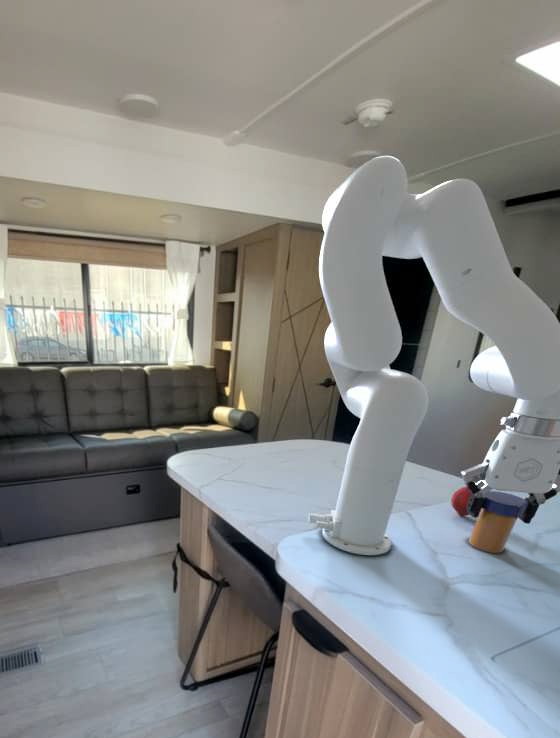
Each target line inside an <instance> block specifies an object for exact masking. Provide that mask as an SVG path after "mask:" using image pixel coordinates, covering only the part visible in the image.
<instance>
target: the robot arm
mask: <svg viewBox="0 0 560 738" xmlns="http://www.w3.org/2000/svg"><path fill="white" fill-rule="evenodd" d="M408 180H409V179H408V174H407V171H406V168H405V166H404V165H403V163H402V162H401V161H400V160H399V159H398V158H396V157H394V156H391V155H381V156H378V157H374V158H372V159H370V160H368V161H366V162H364V163H363V164H362V165H360V166H359V167H358V168H357V169H356V170H355V171H353V172H352V173H351V174H350V175H349V176H348V177H347V178H346V179H345V180H344V181H343V182H342V183H341V184H340V185H339V186H337V188H336V189H335V190H334V191H333V192H332V193H331V195H330V196H329V197H328V199H327V201H326V203H325V205H324V208H323V211H322V216H321V218H322V219H321V225H322V230H323V231H324V233H323V239H322V242H321V247H320V254H319V262H318V264H319V265H318V273H319V274H318V275H319V282H320V287H321V292H322V295H323V299H324V302H325V305H326V308H327V312H328V315H329V318H330V321H331V322H330V324H329V325H328V326H327V328H326V331H325V334H324V341H323V342H324V343H323V345H324V352H325V353H324V354H325V357H326V360H327V362H328V365H329V367H330V370H331V373H332V375H333V378H334V381H335V383H336V386H337V389H338V391H339V394H340V396H341V399H342V401H343V403H344V405H345V406H346V408H347V410H348V411H349V412H350V413H352V414H353V415H354V416H355V417H357V418H359V419H360V420H359V424H358V425H357V428H356V430H355V432H354V434H353V436H352V439H351V442H350V445H349V448H348V452H347V456H346V460H345V465H344V471H343V475H342V480H341V483H340V488H339V493H338V498H337V502H336V506H335V509H331V510H330V513H326V514H325V515H322V514H317V513H309V514H308V518H307V519H308V520H307V522H308V524H314V525H315V529H321V530H322V533H321V534H322V536H323V538H324V539H325V541H327V542H328V543H329V544H330V545H331V546H333V547H335V548H337V549H339V550H342V551H345V552H348V553H351V554H356V555H362V556H378V555H382V554H383V555H384V554H385V553H387V552H389V551H390V549H391V547H392V542H393V541H392V538H391V537H390V536H389V534H387V532H386V531H387V527H388V524H389V520H390V517H391V513H392V510H393V506H394V503H395V500H396V496H397V493H398V490H399V486H400V483H401V480H402V475H403V473H404V469H405V465H406V462H407V460H408V459H407V458H408V455H409V452H410V450H411V447H412V444H413V441H414V439H415V437H416V435H417V433H418V431H419V430H420V427H421V426H422V423H423V421H424V419H425V417H426V414H427V411H428V408H429V395H428V391H427V388H426V386H425V385H424V383H423V382H422V381H421V380H420V379H418V378H417V377H416V376H414V375H412V374H410V373H407V372H404V371H401V370H396V369H391V366H390V365H391V364H392V363H394V361H395V360H396V359H397V357H398V355H399V354H400V351H401V349H402V344H403V336H402V335H403V334H402V328H401V326H400V322H399V319H398V316H397V312H396V310H395V306H394V304H393V303H394V302H393V300H392V297H391V294H390V291H389V287H388V284H387V279H386V275H385V271H384V265H383V256H384V257H390V258H397V259H404V260H405V259H406V260H414V259H420V258H422V259H423V262H424V263H425V266H426V268H427V270H428V272H429V274H430V276H431V279H432V281H433V283H434V285H435V287H436V289H437V292H438V294H439V297H440V299H441V301H442V304H443V306H444V308H445V309H446V311H448V312H449V313H450V314H451V315H452V316H453V317H455V318H456V319H458V320H459V321H461V322H463V323H464V324H466V325H468V326H470V327H472V328H473V329H475V330H477V331H478V332H480V333H481V334H482V335H484V336H485V337H486V338H487V339H489V341H490V342H491V343H492V344H493V345H494V346H492V347H489V348H487V349H485V350H483V351H482V352H480V353H479V354H478V355H477V356H476V357H475V358H474V360H473V361H472V363H471V365H470V369H469V376H470V379H471V381H472V382H473V384H474V385H475V386H476V387H478V388H480V389H482V390H484V391H487V392H490V393H495V394H499V395H503V396H507V397H511V398H515V399H516V403H515V405H514V407H513V410H512V411H511V412H510V415H509V416H502V418H501V419H500V425H501V426H503V425H504V426H505V429H501V431H500V432H499V433H498V434H497V436H496V437H495V440H494V441H493V442H492V444H491V445H490V447H489V449H488V451H487V453H486V455H485V457H484V459H483V461H482V463H480V464H476V465H474V466H472V467H469V468H467V469H465V470H462V471H461V473H460V474H461V477H462V481H463V482H464V485H465V487H466V486H467V488H468V489H469V490H470V492H471V496H470V499H469V501H468V504H467V507H466V509H467V512H468V513H469V514H470V515H469V516H471V518H474V519H475V518H477V519H478V516H479V514H480V511H481V509H482V506H483V503H484V498H483V496H484V495H485V494H486V493H488V492H489V491H492V490H495V491H496V490H497V491H505V492H514V493H524V494H525V493H526V494H528V497H524V498H523V499H524V500H526V501H527V502H528V506H527V509H526V511H525V513H524V515H523V516H521V517H518V518H517V519H519V520H521V521H522V523H524V524H529V525H530V524H531V522H532V520H533V518H534V517H535V516H536V513H537V511H538V509H539V507H540V505H544V504H545V503H546V501H548V500H550V499H551V498H554V497H555V496H557V495H558V493H560V474H559V472H560V321H559V320H558V318H557V316H556V314H554V312H553V311H552V309H551V308H550V307H549V306H548V305H547V304H546V303H545V302H544V301H543V299H541V298H540V297H539V296H538V295H537V294H536V293H535V292H534V291H533V290H532V289H531V288H530V287H529V286H528V285H527V284H526V283H525V282H524V281H523V280H521V279H520V278H519V277H518V276H517V275H516V274H515V273H514V271H513V269H512V266H511V265H510V262H509V259H508V257H507V254H506V251H505V248H504V246H503V243H502V241H501V238H500V235H499V233H498V230H497V227H496V224H495V222H494V219H493V217H492V215H491V212H490V208H489V206H488V204H487V201H486V199H485V196H484V194H483V191H482V189H481V188H480V187H479V185H478V184H477V183H476V182H475V181H473V180H471V179H468V178H456V179H452V180H448V181H445V182H443V183H441V184H438V185H437V186H435V187H433V188H431V189H429V190H427V191H426V192H424V193H420V194H419V193H418V194H415V193H408V183H409V182H408ZM476 476H477V477H478V479H479V480H478V481H477V482H476V483H475V480H474V477H476Z"/></svg>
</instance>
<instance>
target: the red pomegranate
mask: <svg viewBox="0 0 560 738" xmlns="http://www.w3.org/2000/svg"><path fill="white" fill-rule="evenodd" d="M470 496H471V492H470V490H469V489H468V488H467V486H466V485H465V486H463V487H461V488H459V489H457V490H456V491H455V492H454V493H453V494H452V496H451V499H450V504H451V507H452V509H453V510H455V512H456V513H457V515H458V516H460V517H466V516H471V515H470V514H469V513H468V512H467V509H466V507H467V504H468V501H469V499H470Z"/></svg>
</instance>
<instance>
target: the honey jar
mask: <svg viewBox="0 0 560 738" xmlns="http://www.w3.org/2000/svg"><path fill="white" fill-rule="evenodd" d="M518 519H519V518H518V517H508V516H502V515H498V514H494V513H492V512H489V511H487V510H485V509H483V508H481V511H480V513H479V516H478V517H477V519H476V522H475V524H474V527H473V529H472V531H471V534H470V537H469V538H468V543H469V544H470V545H471V546H472V547H474V548H475V549H478V550H480V551H483V552H486V553H491V554H500V553H502V552H503V551H504V550H505V548H506V545H507V543H508V540H509V538H510V536H511V534H512V532H513V529H514V527H515V525H516V522H517V520H518Z"/></svg>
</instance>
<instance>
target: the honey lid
mask: <svg viewBox="0 0 560 738" xmlns="http://www.w3.org/2000/svg"><path fill="white" fill-rule="evenodd" d="M483 498H484V503H483V506H482V508H483V509H485V510H487V511H489V512H492V513H494V514H498V515H502V516H508V517H521V516H523V515H524V513H525V511H526V509H527V506H528V502H527V501H526V500H524V499H525V498H522V497H521V496H518V495H515V494H511V493H509V492H508V493H507V492H503V491H496V490H495V491H494V490H493V491H492V490H490V491H489V492H488V493H486V494H485V495H484V496H483ZM482 508H481V509H482Z"/></svg>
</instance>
